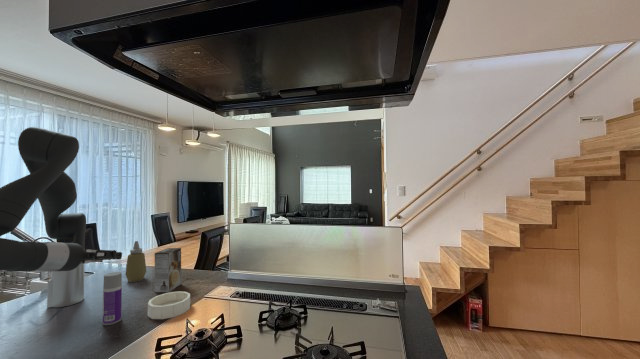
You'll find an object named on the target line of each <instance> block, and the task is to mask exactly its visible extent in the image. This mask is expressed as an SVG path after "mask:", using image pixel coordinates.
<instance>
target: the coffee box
mask: <svg viewBox="0 0 640 359" xmlns="http://www.w3.org/2000/svg"><path fill="white" fill-rule="evenodd" d="M180 285H182V247H172V248H171V247H169V248H168V247H167V248H165V249H162V250H160V251H157V252H154V292H155V293H169V292H172V291H173V290H174V289H176V288H177V287H179V286H180Z"/></svg>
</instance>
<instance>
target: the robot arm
mask: <svg viewBox="0 0 640 359" xmlns="http://www.w3.org/2000/svg"><path fill="white" fill-rule="evenodd" d="M17 147H18V148H17V149H18V152H19V155H20V157H21V159H22V161H23V163H24V164H25V167H26V168H27V170H28V172H29V174H27V175H25V176H22V177H21V178H18V179H16V180H13V181H12V182H9V183H7V184H4V185H3V186H1V187H0V271H4V272H11V273H14V272H15V273H16V272H17V273H18V272H19V273H21V272H37V273H38V272H39V273H46V272H50V279H49V280H48V281H47V292H46V293H47V294H46V296H47V297H46V298H47V299H46V308H62V307H68V306H72V305H75V304H77V303H80V302H82V301H84V298H85V266H86V264H90V263H101V262H103V261H106V260H107V261H111V260H122V257H123V252H122V251H117V250H115V249H112V250H111V249H110V250H108V249H89V248H88V249H86V245H85V244H86V232H87V231H86V230H87V217H86V215H85V213H82V212H77V213H76V212H74V213H73V212H72V213H64V212H66V211H67V210H68V209H69V208H71V207H72V206H73V205H74V204H75V202H76V200H77V196H78V195H77V194H78V193H77V186H76V183H75V182H74V180H73V179H72V177H70V176H69V175H68V173H66V172H65V171H66V170H67V169H68V167H70V165H71V164H72V163H74V162H75V159H76V158H77V156H78V153H79V149H80V143H79V140H78V138H77V137H75V136H74V135H70V134H67V133H63V132H59V131H55V130H51V129H48V128H43V127H37V126H32V127H31V126H30V127H27V128H24V130H22V131H21V133H20V134H19V136H18V140H17ZM37 200H38V202H39V204H40V207H41V210H42V214H43V221H44V227H45V232H46V235H47V237H48V238H50V239H52V240H61V239H62V240H63V239H72V238H73V240H72V241H71V242H57V241H42V242H40V241H39V242H38V241H21V240H15V239H10V238H4V237H3V238H2V236H3V235H6V234H9V233H11V232H13V231H14V230H15V229H16V228H17V227H18V226H19V225H20V223H21V222H22V220H23V219H24V218H25V216H26V215H27V213H28V212H29V210H30V209H31V207H32V206H33V205H34V203H35V202H36V201H37Z"/></svg>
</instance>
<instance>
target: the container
mask: <svg viewBox="0 0 640 359" xmlns="http://www.w3.org/2000/svg"><path fill="white" fill-rule="evenodd" d="M122 275H123V274H122V272H121V271H111V272H108V273H105V274H104V275H103V290H102V292H103V293H102V326H109V325H111V326H112V325H115V324H116V323H119V322H121V320H122V303H123V302H122V301H123V300H122V297H123V296H122V294H123V293H122V292H123V290H122V289H123V288H122V287H123V283H122V277H123V276H122Z"/></svg>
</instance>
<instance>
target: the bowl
mask: <svg viewBox="0 0 640 359" xmlns="http://www.w3.org/2000/svg"><path fill="white" fill-rule="evenodd" d="M190 308H191V293H189V292H188V291H179V290H178V291H177V290H176V291H170V292H164V293H162V294H159V295H156V296H154V297H152V298H150V299H149V301H148V302H147V317H148V318H149V319H151V320H165V319H172V318H176V317H178V316H180V315H183V314H186V312H188V310H190Z"/></svg>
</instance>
